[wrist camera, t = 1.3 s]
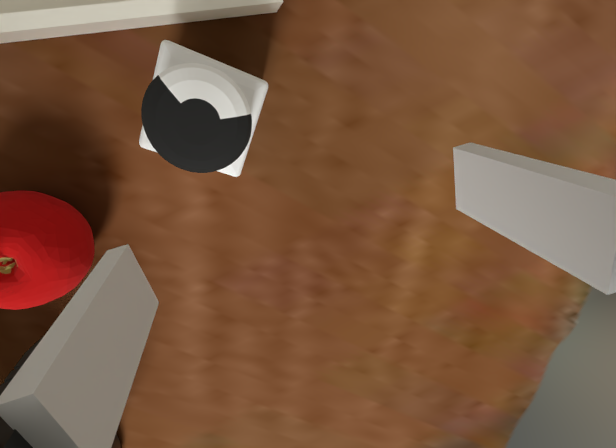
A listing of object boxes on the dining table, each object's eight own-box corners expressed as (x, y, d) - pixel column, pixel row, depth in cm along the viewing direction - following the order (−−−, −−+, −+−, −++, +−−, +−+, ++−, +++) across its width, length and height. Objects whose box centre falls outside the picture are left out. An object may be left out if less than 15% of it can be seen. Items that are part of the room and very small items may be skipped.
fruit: (128, 219, 32) (88, 273, 23) (75, 287, 33) (17, 364, 24) (24, 155, 28) (-73, 190, 19) (-31, 235, 29) (-146, 302, 20)
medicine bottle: (237, 159, 32) (241, 199, 21) (157, 133, 29) (114, 162, 19) (261, 82, 30) (279, 82, 19) (177, 47, 27) (142, 25, 17)
